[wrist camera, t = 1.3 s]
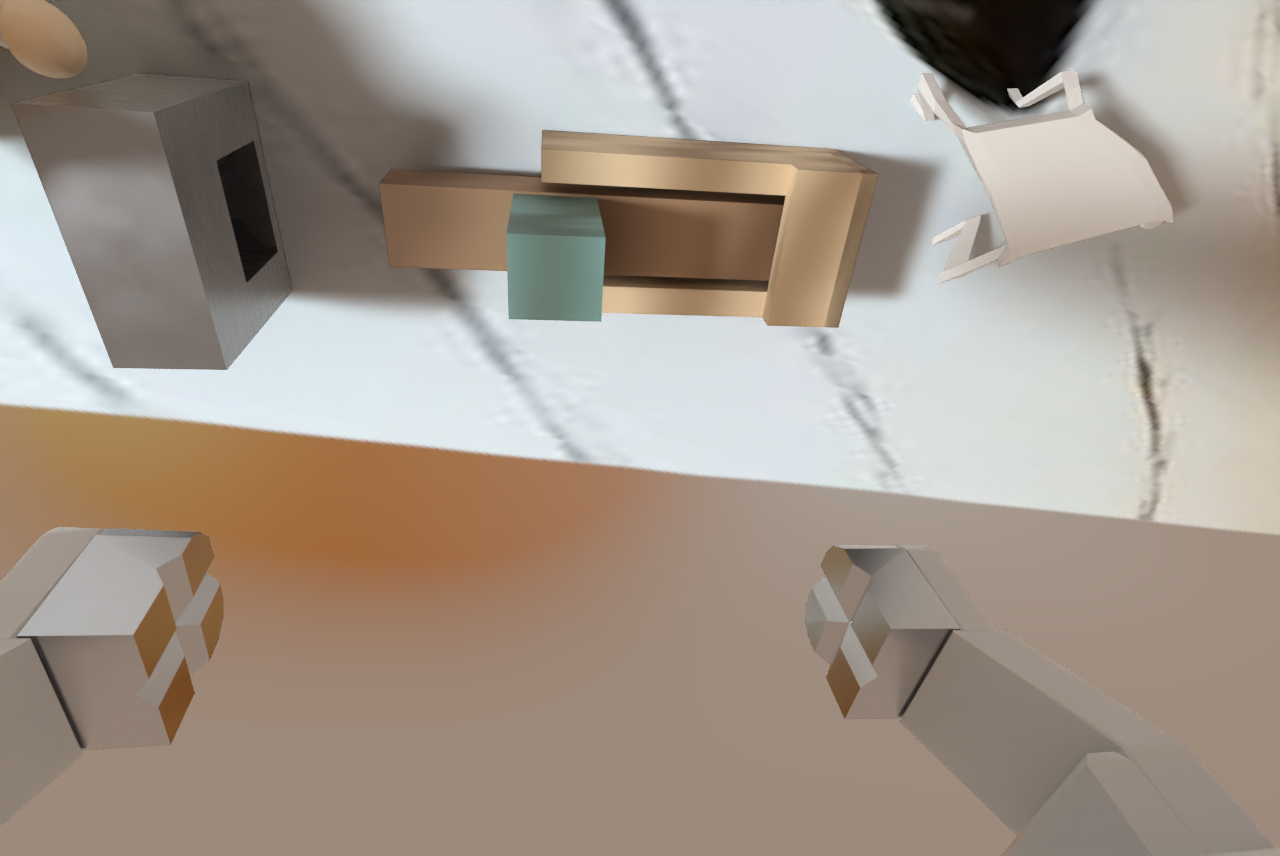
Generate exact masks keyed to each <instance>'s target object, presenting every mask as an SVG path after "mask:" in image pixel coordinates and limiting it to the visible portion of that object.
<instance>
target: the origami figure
mask: <svg viewBox="0 0 1280 856" xmlns="http://www.w3.org/2000/svg"><path fill="white" fill-rule="evenodd" d="M1063 88H1065V92H1066V97H1067V102H1068V106H1069V111H1064V112H1058V113H1052V114H1046V115H1040V116H1034V117H1028V118H1022V119H1016V120H1010V121H1004V122H998V123H992V124H986V125H980V126H974V127H968V128H967V127H966V126H965V125H964V123H963V122H962V121H961V120H960V118H959V117H958V116H957V114H956V113H955V112H954V111H953V109H952V108H951V107H950V105H949V104H948V103H947V101H946V99H945V97H944V96H943V94H942V92H941V90H940V88H939V86H938V84H937V82H936V80H935V78H934V76H933V74H927V73H922V75H921V78H920V81H919V84H918V92H919V94H913V96H912V100H911V104H912V106H913V107H914V108H915V109H916V110H917V111H918V113H919V114H920V115H921V116H922V117H923V118H924V120H933V119H935V118H934V113H935V114H936V115H937V116H938V117H939V118H940V119H941V120H942V121H943V123H944V124H945V125H946V126H947V127H948V128H949V129H950V130H951V131H952V132H953V133H954V134H955V135H956V136H957V137H958V139H959V141H960V143H961V145H962V147H963V149H964V151H965V153H966V155H967V156H968V158H969V160H970V162H971V164H972V166H973V168H974V170H975V171H976V173H977V175H978V177H979V178H980V180H981V182H982V183H983V185H984V187H985V189H986V190H987V192H988V195H989V197H990V200H991V202H992V205H993V208H994V210H995V213H996V215H997V218H998V220H999V223H1000V225H1001V228H1002V230H1003V233H1004V235H1005V238H1006V241H1007V245H1004V246H1002V247H1000V248H997V249H995V250H993V251H990V252H988V253H986V254H983V255H981V256H979V257H977V258H974V259H972V260H970V261H968V259H969V256H970V253H971V250H972V247H973V244H974V241H975V238H976V235H977V232H978V229H979V225H980V222H981V215H980V216H977V217H973V218H970V219H967V220H965V221H963V222H961V223H959V224H957V225H955V226H953V227H952V228H950V229H948V230H946V231H944V232H942V233H940V234H938V235H937V236H935V237H934V238H933V244H932V245H934V244H937V243H941V242H944V241H948V240H950V239H952V238H953V237H955V236H957V235H958V234H960V236H959V238H958V240H957V242H956V244H955V246H954V249H953V251H952V253H951V255H950V257H949V260H948V262H947V264H946V266H945V268H944V271H943V273H942V276H941V278H940V281H939V283H942V282H945V281H949V280H952V279H955V278H959V277H962V276H964V275H966V274H968V273H970V272H972V271H974V270H976V269H978V268H980V267H982V266H984V265H986V264H988V263H990V262H992V261H994V260H998V265H999V268H1000V267H1002V266H1004V265H1006V264H1008V263H1010V262H1012V261H1014V260H1017V259H1019V258H1021V257H1023V256H1025V255H1029V254H1033V253H1036V252H1040V251H1044V250H1048V249H1051V248H1055V247H1059V246H1063V245H1067V244H1070V243H1074V242H1078V241H1082V240H1085V239H1089V238H1093V237H1097V236H1101V235H1104V234H1108V233H1112V232H1116V231H1119V230H1123V229H1127V228H1131V227H1134V226H1138V225H1139V226H1140V227H1142V228H1143V229H1154V228H1156V227H1157V226H1158V225H1160V224H1161V223H1162V222H1164V221H1166V222H1169V223H1173V210H1172V206H1171V203H1170V202H1169V200H1168V198H1167V196H1166V194H1165V193H1164V191H1163V189H1162V187H1161V186H1160V184H1159V182H1158V180H1157V178H1156V176H1155V175H1154V173H1153V171H1152V169H1151V167H1150V165H1149V163H1148V161H1147V159H1146V158H1145V156H1144V155H1143V154H1142V153H1141V152H1140V151H1139V150H1137V149H1136V148H1135V147H1133V146H1132V145H1131V144H1129V143H1128V142H1127V141H1126V140H1124V139H1123V138H1122V137H1120V136H1119V135H1118V134H1116V133H1115V132H1114V131H1112V130H1111V129H1109V128H1108V127H1106V126H1105V125H1103V124H1102V123H1100V122H1099V121H1097V120H1096V119H1095V118H1094V114H1093V110H1092V108H1091V107H1089V106H1087V105H1085V103H1084V99H1083V95H1082V91H1081V88H1080V84H1079V80H1078V75H1077V71H1064V72H1060V73H1059V74H1057V75H1056V76H1054V77H1053V78H1051V79H1050V80H1048V81H1047V82H1045V83H1044V84H1042V85H1041V86H1039V87H1038V88H1037V89H1035V90H1034V91H1032V92H1031V93H1029V94H1028V95H1026V96H1025V97H1022V95H1021V93H1020V92H1019V90H1018V88H1015V89H1008V93H1009V96H1010V98H1011V99H1012V100H1013V101H1014V102H1015V103H1016V105H1017V106H1018V107H1027V106H1030V105H1032V104H1034V103H1036V102H1038V101H1040V100H1042V99H1044V98H1046V97H1048V96H1049V95H1051V94H1053V93H1055V92H1057V91H1059V90H1061V89H1063Z"/></svg>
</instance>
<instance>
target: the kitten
mask: <svg viewBox="0 0 1280 856" xmlns="http://www.w3.org/2000/svg"><path fill="white" fill-rule="evenodd" d="M0 46H1V47H4V48H6V49H9V50H10V52H11V53H12V54H13V56H14V57H15V58H16V59H17V60H18V61H19V62H20V63H21V64H22V65H24V66H25V67H26V68H28V69H30V70H31V71H33V72H35V73H38V74H40V75H43V76H47V77H51V78H71V77H74V76H77V75H79V74H80V73H81V72H82V71H83V70H84V69H85V68H86V66H87V62H88V51H87V47H86V44H85V42H84V39H83V37H82V35H81V34H80V32H79V30H78V29H77V27H76V26H75V25H74V23H73V22H72V21H71V20H70V19H69V18H68V17H67V16H66V15H65V14H64V13H63V12H62V11H61V10H60V9H58V8H57V7H55V6H54V5H52V4H51V3H49V2H47V1H45V0H0Z"/></svg>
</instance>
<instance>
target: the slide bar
mask: <svg viewBox="0 0 1280 856" xmlns="http://www.w3.org/2000/svg"><path fill="white" fill-rule="evenodd" d="M379 187H380V195H381V203H382V211H383V219H384V227H385V235H386V243H387V251H388V259H389V267H412V268H438V269H465V270H492V271H508V305H509V319H529V320H566V321H601V315H602V296H603V277H604V275H627V276H654V277H681V278H708V279H735V280H762V281H769V279H770V274H771V269H772V264H773V258H774V253H775V248H776V243H777V238H778V233H779V227H780V222H781V217H782V212H783V207H784V201H785V196H784V195H766V194H748V193H730V192H712V191H694V190H676V189H658V188H639V187H621V186H603V185H585V184H567V183H549V182H541V177H526V176H508V175H490V174H472V173H454V172H437V171H419V170H401V169H391V170H390V171H389V172H388V173H387V175H386V176H385V177H384V178H383V179H382V181H381V182H380V183H379Z"/></svg>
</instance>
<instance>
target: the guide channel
mask: <svg viewBox="0 0 1280 856" xmlns="http://www.w3.org/2000/svg"><path fill="white" fill-rule="evenodd" d="M877 177H878V174H876V173H875V172H873V171H871V170H870V169H868V168H866V167H864V166H863V165H861V164H859V163H858V162H856V161H854V160H853V159H851V158H849V157H848V156H846V155H844V154H842V153H841V152H839V151H837V150H836V149H823V148H808V147H793V146H778V145H763V144H747V143H732V142H717V141H702V140H686V139H671V138H656V137H641V136H626V135H610V134H595V133H580V132H565V131H550V130H542V148H541V182H549V183H567V184H585V185H603V186H621V187H639V188H658V189H676V190H694V191H712V192H730V193H748V194H766V195H784V196H785V201H784V207H783V212H782V217H781V222H780V227H779V233H778V238H777V243H776V248H775V253H774V258H773V264H772V269H771V274H770V279H769V281H762V280H735V279H708V278H681V277H654V276H627V275H604V277H603V296H602V313H634V314H668V315H702V316H736V317H762V318H763V319H764V321H765V323H766V324H767V325H768V326H804V327H839V323H840V319H841V315H842V311H843V307H844V304H845V300H846V296H847V292H848V288H849V284H850V281H851V277H852V273H853V269H854V265H855V262H856V258H857V254H858V250H859V246H860V242H861V239H862V235H863V231H864V227H865V223H866V219H867V216H868V212H869V208H870V204H871V200H872V197H873V193H874V189H875V185H876V181H877Z"/></svg>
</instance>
